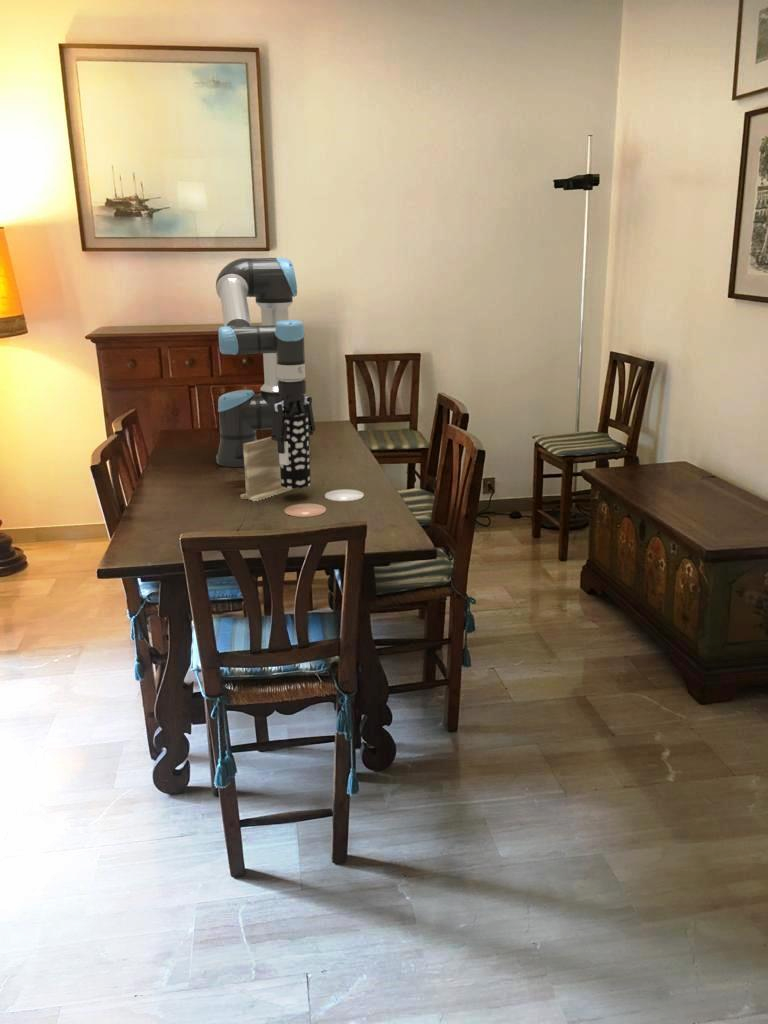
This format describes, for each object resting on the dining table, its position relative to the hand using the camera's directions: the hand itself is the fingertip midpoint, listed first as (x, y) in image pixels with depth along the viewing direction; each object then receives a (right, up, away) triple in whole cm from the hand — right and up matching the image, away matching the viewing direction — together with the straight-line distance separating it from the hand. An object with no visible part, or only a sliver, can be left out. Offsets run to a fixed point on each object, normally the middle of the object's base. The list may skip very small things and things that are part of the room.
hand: (294, 460), depth 227 cm
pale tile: (+14, -10, +4) cm, 17 cm away
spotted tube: (0, -7, +2) cm, 7 cm away
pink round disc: (+4, -14, -9) cm, 17 cm away
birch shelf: (-8, -9, +8) cm, 14 cm away
